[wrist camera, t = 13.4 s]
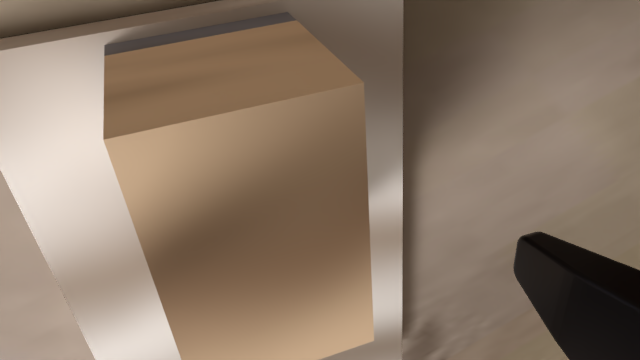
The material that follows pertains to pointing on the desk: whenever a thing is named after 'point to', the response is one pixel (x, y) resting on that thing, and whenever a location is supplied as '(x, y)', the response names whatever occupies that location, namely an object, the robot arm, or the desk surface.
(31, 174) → the board
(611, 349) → the robot arm
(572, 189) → the desk surface
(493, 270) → the desk surface
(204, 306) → the block
